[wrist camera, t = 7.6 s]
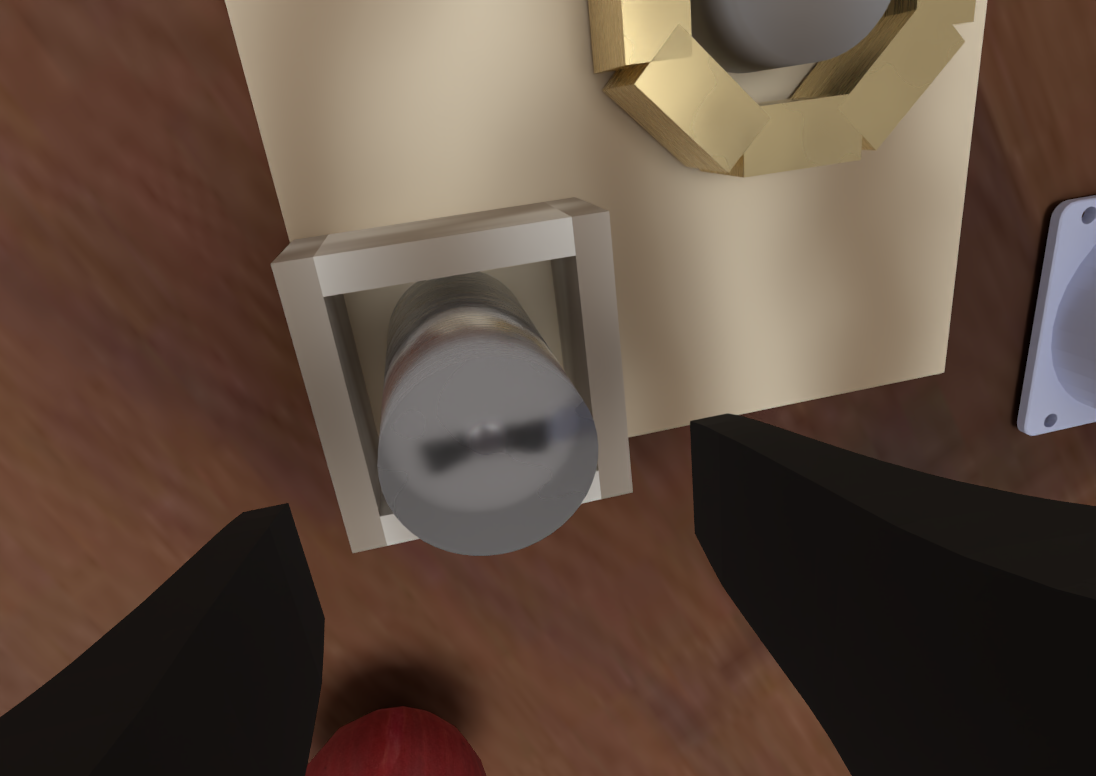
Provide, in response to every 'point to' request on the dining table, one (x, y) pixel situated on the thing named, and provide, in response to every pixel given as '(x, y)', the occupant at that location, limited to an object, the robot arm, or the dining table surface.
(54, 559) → the dining table surface
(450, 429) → the pin
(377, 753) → the onion
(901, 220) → the board
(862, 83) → the ring nut
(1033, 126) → the dining table surface
